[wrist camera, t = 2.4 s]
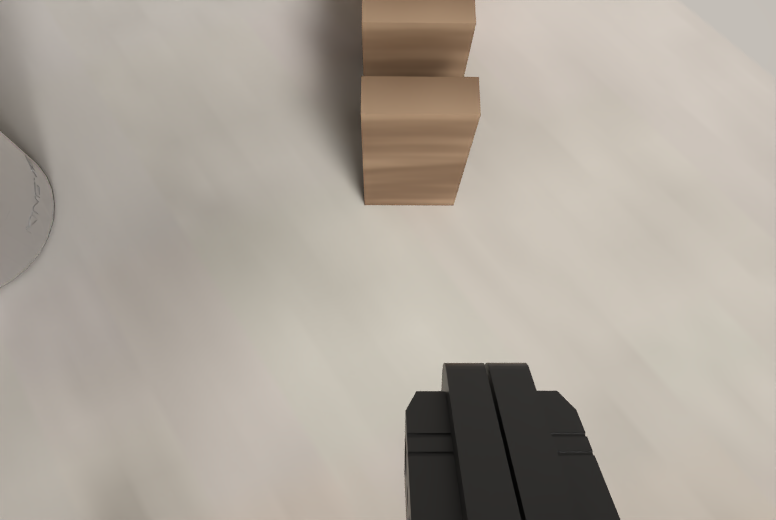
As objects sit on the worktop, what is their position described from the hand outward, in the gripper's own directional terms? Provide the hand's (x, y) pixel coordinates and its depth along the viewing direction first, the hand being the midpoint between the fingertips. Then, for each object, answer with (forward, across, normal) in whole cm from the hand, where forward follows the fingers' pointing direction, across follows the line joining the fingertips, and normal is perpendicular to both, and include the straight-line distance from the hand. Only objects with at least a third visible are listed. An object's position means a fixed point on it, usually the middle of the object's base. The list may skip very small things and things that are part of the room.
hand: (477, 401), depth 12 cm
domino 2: (+25, 0, +6) cm, 26 cm away
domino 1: (+28, 0, +2) cm, 28 cm away
